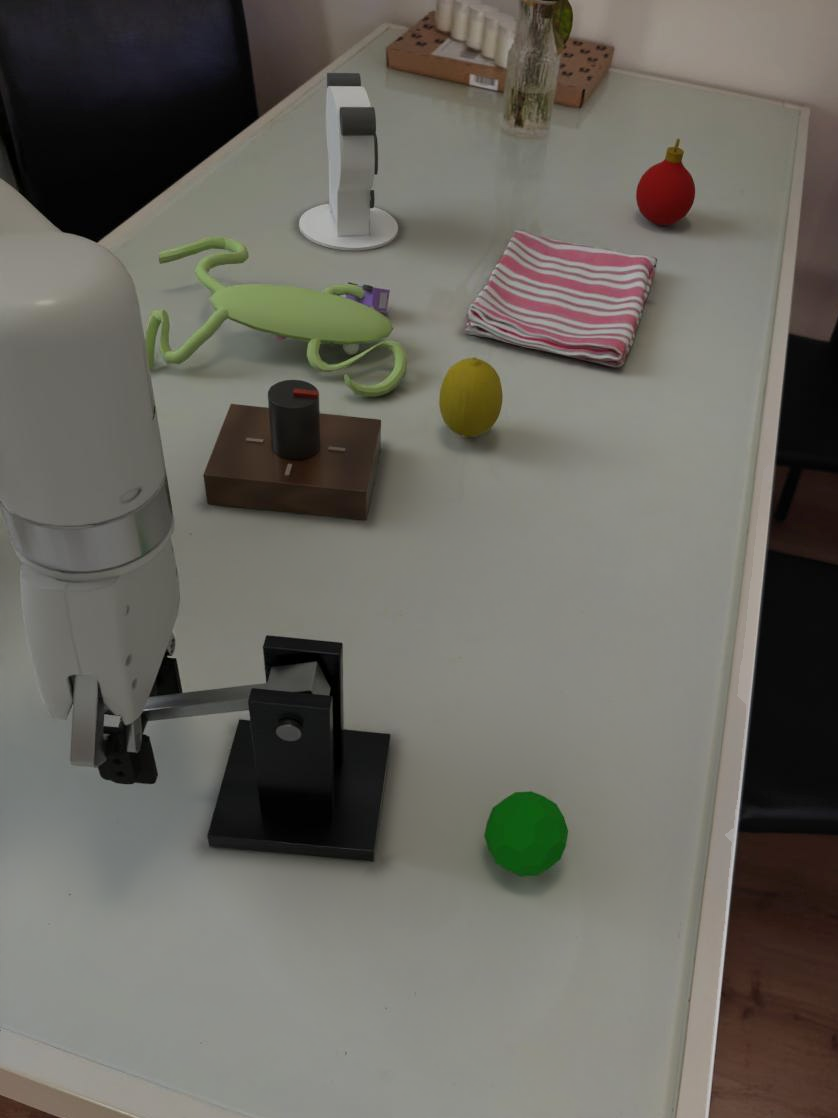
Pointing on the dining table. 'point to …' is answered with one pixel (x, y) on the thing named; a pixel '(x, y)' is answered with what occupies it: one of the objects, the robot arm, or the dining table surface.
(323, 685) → the tap lever
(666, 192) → the christmas ornament
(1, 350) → the robot arm
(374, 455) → the panel
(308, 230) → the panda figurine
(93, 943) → the dining table surface
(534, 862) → the polyhedron
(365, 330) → the figurine
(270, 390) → the valve knob
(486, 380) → the lemon
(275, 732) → the black lever base
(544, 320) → the dish towel
